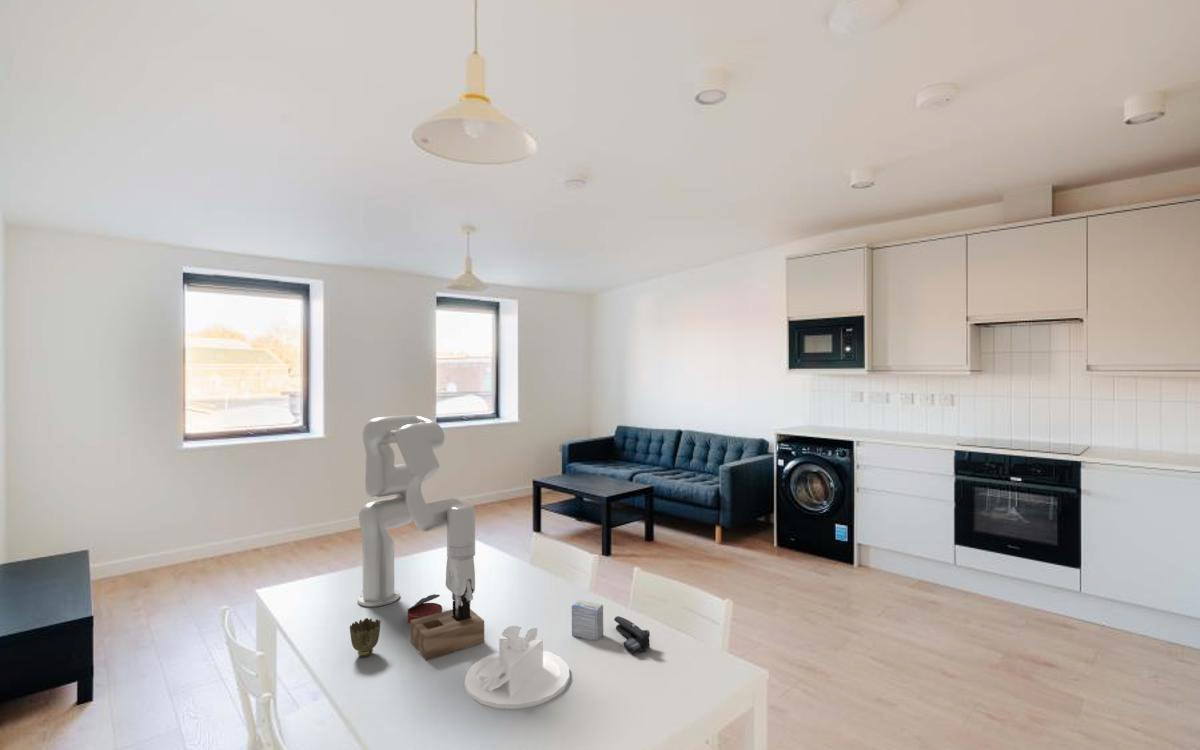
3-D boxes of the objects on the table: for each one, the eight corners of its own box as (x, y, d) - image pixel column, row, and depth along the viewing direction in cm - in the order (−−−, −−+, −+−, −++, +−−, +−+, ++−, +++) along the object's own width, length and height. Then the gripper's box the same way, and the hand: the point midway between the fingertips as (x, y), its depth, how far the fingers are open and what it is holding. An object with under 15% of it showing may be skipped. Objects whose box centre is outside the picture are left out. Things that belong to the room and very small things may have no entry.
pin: (453, 623, 158) (453, 590, 157) (464, 620, 159) (464, 588, 159) (458, 627, 155) (458, 594, 155) (469, 624, 157) (469, 591, 157)
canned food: (413, 642, 165) (395, 615, 163) (417, 623, 174) (400, 597, 172) (449, 622, 166) (432, 595, 164) (451, 604, 176) (435, 578, 174)
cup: (386, 650, 151) (386, 620, 151) (366, 663, 144) (366, 632, 144) (363, 645, 153) (363, 616, 153) (343, 658, 146) (343, 627, 146)
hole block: (410, 642, 155) (410, 620, 155) (466, 626, 164) (466, 605, 164) (425, 660, 145) (425, 637, 145) (484, 642, 155) (484, 620, 155)
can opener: (656, 654, 149) (656, 633, 149) (632, 659, 146) (632, 637, 146) (628, 625, 165) (628, 606, 165) (606, 629, 163) (606, 610, 163)
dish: (478, 653, 150) (478, 610, 150) (573, 654, 149) (573, 611, 149) (450, 708, 125) (450, 657, 125) (564, 711, 124) (564, 659, 124)
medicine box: (603, 635, 159) (603, 604, 159) (597, 641, 155) (597, 610, 155) (578, 629, 163) (578, 599, 163) (571, 636, 159) (571, 605, 158)
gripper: (437, 545, 161) (437, 609, 162) (459, 560, 148) (460, 631, 148) (462, 540, 166) (462, 603, 166) (486, 555, 153) (486, 623, 153)
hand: (461, 615), depth 157 cm, fingers closed on pin, 3 cm apart
